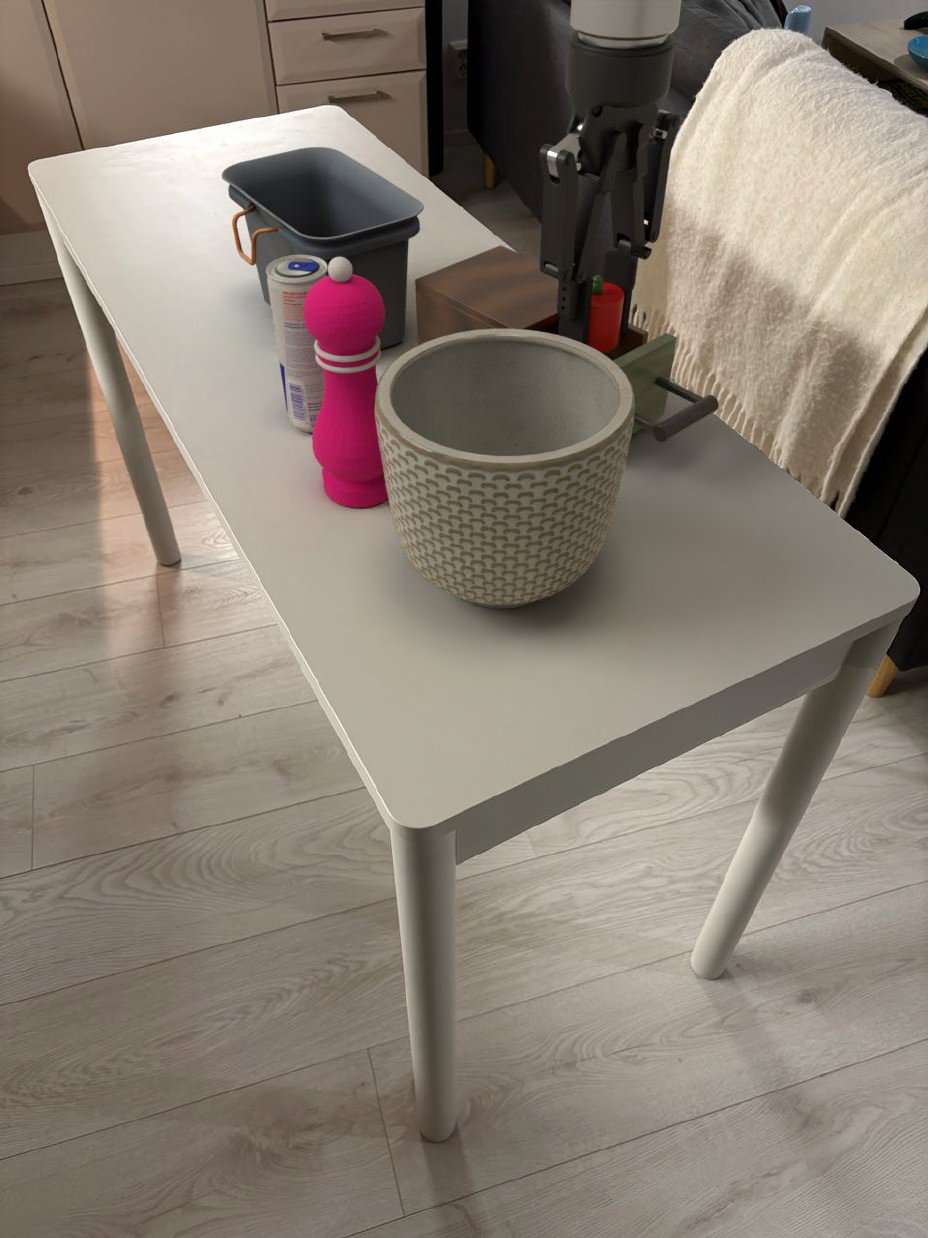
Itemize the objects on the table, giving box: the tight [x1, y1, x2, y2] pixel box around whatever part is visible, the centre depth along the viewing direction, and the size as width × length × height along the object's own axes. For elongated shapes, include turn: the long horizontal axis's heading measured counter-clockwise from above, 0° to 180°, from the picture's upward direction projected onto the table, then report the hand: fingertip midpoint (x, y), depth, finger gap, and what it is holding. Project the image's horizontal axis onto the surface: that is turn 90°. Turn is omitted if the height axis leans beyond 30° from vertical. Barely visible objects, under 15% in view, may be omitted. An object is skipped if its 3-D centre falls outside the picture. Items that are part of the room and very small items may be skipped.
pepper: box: [587, 274, 624, 353], centre depth 83 cm, size 5×5×6 cm
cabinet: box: [414, 245, 560, 346], centre depth 93 cm, size 14×11×10 cm
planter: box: [375, 329, 635, 610], centre depth 70 cm, size 17×17×16 cm
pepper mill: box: [303, 257, 389, 508], centre depth 76 cm, size 7×7×20 cm
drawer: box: [536, 320, 720, 443], centre depth 86 cm, size 19×10×8 cm, turn 43°
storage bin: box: [221, 146, 425, 350], centre depth 99 cm, size 21×16×14 cm
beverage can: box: [266, 255, 329, 434], centre depth 85 cm, size 5×5×15 cm
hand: (592, 337), depth 84 cm, fingers closed on pepper, 5 cm apart
